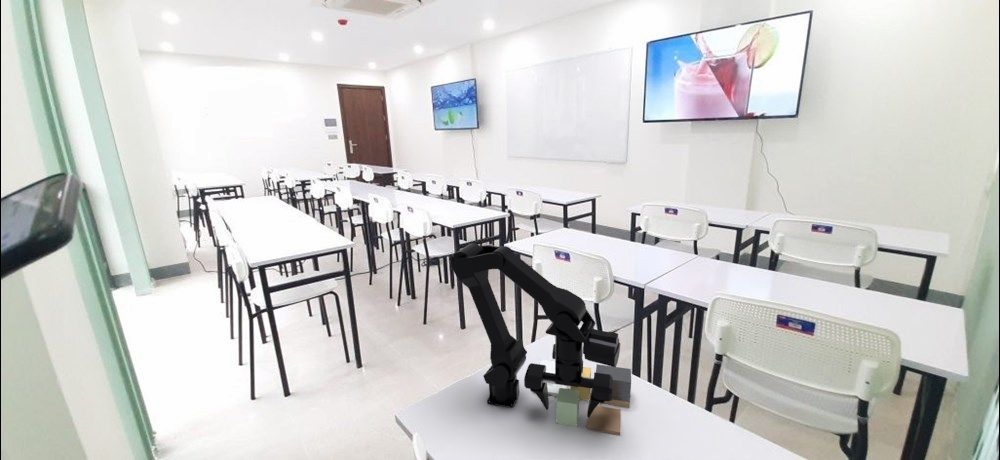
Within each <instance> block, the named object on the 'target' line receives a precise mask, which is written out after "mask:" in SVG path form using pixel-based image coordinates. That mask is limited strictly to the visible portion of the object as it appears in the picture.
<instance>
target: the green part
mask: <svg viewBox="0 0 1000 460" xmlns="http://www.w3.org/2000/svg"><path fill="white" fill-rule="evenodd" d="M556 397H557V398H556V403H555V404H556V411H555V412H556V415H555V416H556V418H555V419H556V424H558V425H564V426H570V427H575V428H576V427H578V420H579V410H580V408H579V407H580V399H579V391H577V390H571V389H570V388H567V389H564V388H559V392H558V396H556Z"/></svg>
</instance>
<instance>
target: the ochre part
mask: <svg viewBox="0 0 1000 460" xmlns="http://www.w3.org/2000/svg"><path fill="white" fill-rule="evenodd" d="M591 375H592V367H587V366H583V373H582V377H588V378H592V376H591ZM569 389H571V390H577V391H579V400H585V401H589V400H590V395H591V388H585V387H573V386H572V387H570V386H569Z"/></svg>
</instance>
